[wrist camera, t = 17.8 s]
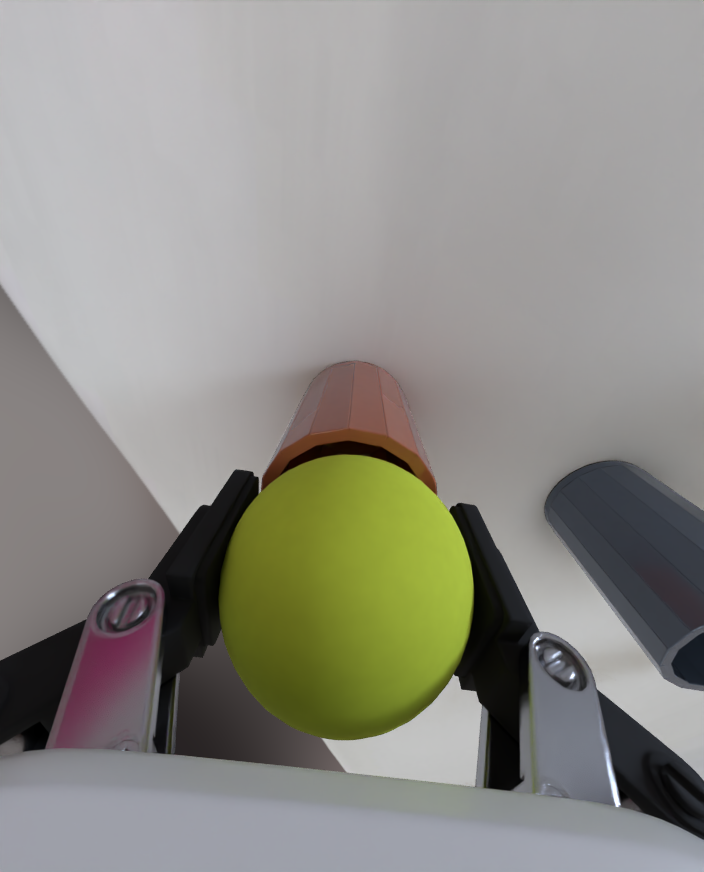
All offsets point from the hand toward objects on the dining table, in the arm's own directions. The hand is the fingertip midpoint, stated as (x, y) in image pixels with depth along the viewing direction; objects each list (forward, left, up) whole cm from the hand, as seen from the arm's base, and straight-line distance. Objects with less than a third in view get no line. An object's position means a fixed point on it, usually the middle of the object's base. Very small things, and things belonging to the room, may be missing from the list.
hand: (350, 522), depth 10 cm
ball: (0, 0, +2) cm, 2 cm away
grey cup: (-16, +10, -10) cm, 21 cm away
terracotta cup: (0, 0, -10) cm, 10 cm away
